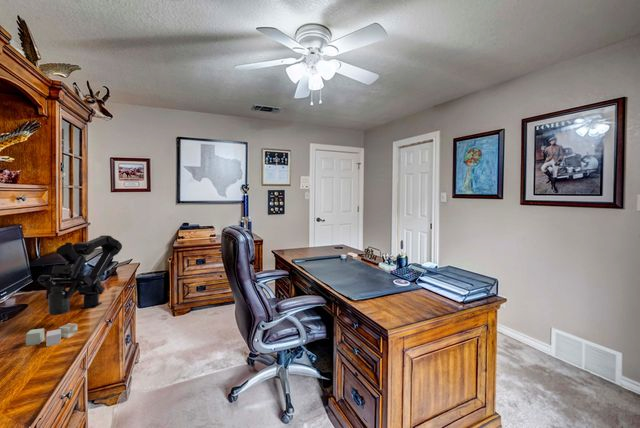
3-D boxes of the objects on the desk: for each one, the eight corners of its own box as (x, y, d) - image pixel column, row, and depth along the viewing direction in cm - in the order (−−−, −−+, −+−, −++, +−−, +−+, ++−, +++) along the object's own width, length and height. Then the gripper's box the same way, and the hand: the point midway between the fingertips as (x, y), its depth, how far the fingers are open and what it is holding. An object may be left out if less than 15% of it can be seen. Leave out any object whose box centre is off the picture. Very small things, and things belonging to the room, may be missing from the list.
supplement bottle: (67, 307, 132) (67, 281, 131) (71, 312, 128) (70, 285, 127) (47, 312, 127) (46, 285, 126) (50, 317, 123) (49, 289, 122)
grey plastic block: (47, 341, 114) (47, 331, 113) (61, 338, 116) (60, 328, 116) (46, 346, 110) (46, 336, 110) (60, 343, 112) (60, 333, 112)
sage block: (30, 341, 113) (30, 329, 113) (44, 339, 115) (44, 328, 115) (26, 346, 110) (25, 334, 110) (40, 344, 112) (39, 332, 111)
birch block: (68, 332, 121) (68, 323, 121) (77, 333, 121) (77, 323, 121) (59, 337, 117) (58, 327, 117) (68, 338, 117) (68, 328, 117)
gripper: (39, 257, 128) (19, 290, 118) (87, 257, 131) (72, 290, 121) (53, 270, 136) (35, 302, 126) (98, 269, 139) (84, 301, 129)
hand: (56, 298), depth 126 cm, fingers closed on supplement bottle, 7 cm apart
